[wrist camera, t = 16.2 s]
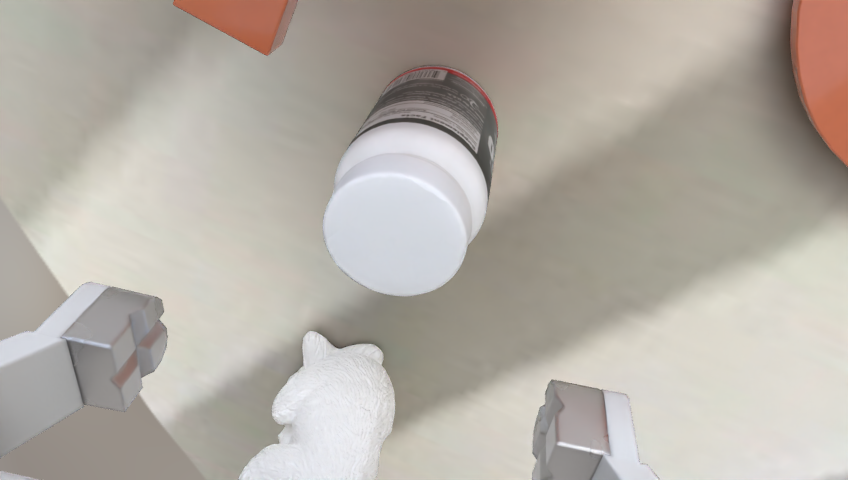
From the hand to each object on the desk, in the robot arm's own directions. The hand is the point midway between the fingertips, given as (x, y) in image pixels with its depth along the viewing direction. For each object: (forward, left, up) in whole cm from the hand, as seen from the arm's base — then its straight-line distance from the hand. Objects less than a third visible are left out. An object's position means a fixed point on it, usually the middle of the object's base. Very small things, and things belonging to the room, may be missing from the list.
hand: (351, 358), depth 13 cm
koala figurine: (-14, -2, -13) cm, 20 cm away
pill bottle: (0, 0, -13) cm, 13 cm away
